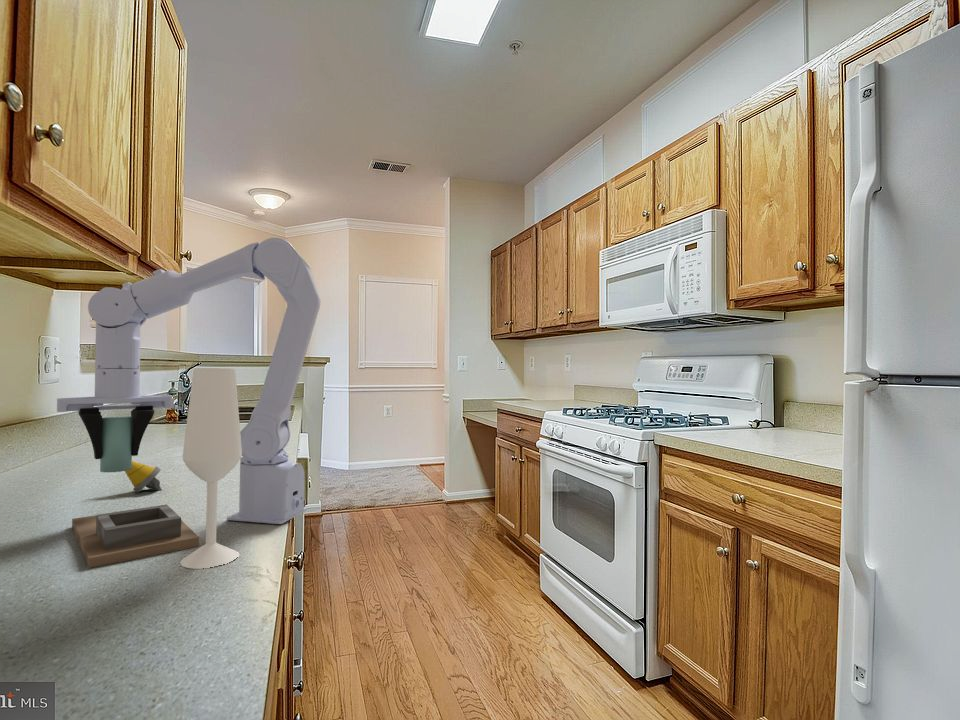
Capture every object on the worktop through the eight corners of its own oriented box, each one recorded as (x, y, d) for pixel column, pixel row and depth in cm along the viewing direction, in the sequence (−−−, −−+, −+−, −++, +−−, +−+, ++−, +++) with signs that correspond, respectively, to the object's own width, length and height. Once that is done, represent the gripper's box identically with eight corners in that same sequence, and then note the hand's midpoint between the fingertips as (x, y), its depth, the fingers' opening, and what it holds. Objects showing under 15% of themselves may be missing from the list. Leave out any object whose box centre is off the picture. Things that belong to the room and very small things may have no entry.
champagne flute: (172, 570, 63) (176, 368, 63) (189, 550, 69) (193, 367, 69) (233, 566, 64) (237, 369, 64) (244, 547, 71) (248, 368, 71)
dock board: (199, 546, 71) (199, 518, 71) (88, 568, 63) (89, 537, 63) (164, 512, 86) (165, 489, 86) (72, 526, 78) (72, 501, 78)
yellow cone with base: (157, 497, 96) (110, 463, 93) (146, 505, 99) (99, 471, 96) (177, 475, 101) (132, 441, 97) (166, 483, 104) (122, 450, 100)
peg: (137, 467, 83) (138, 417, 83) (116, 473, 79) (116, 419, 79) (116, 466, 84) (116, 416, 84) (93, 471, 80) (94, 418, 80)
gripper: (165, 368, 89) (164, 448, 89) (56, 367, 80) (54, 457, 79) (175, 368, 84) (174, 454, 84) (59, 368, 74) (57, 465, 74)
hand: (116, 456), depth 81 cm, fingers closed on peg, 4 cm apart
